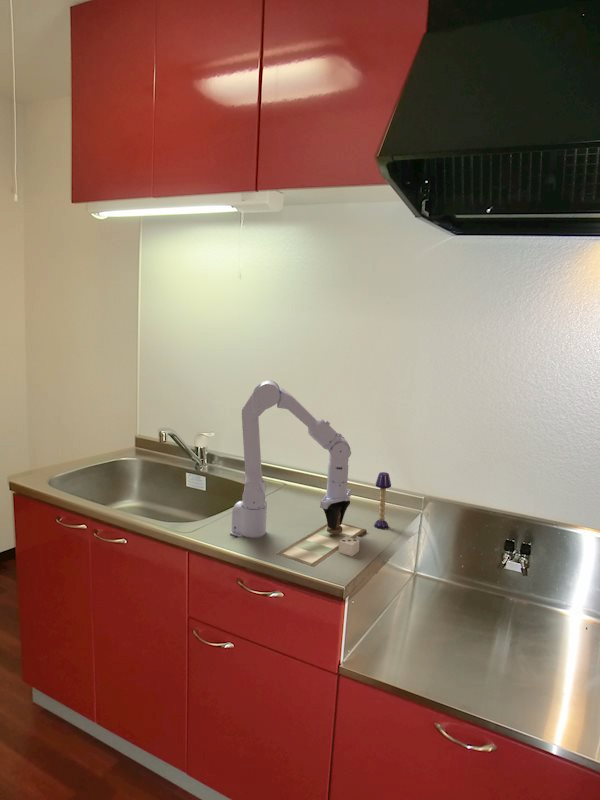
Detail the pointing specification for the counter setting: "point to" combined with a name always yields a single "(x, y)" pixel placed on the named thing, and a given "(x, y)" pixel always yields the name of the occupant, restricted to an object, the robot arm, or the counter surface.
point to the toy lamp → (382, 498)
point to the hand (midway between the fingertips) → (334, 526)
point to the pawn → (338, 527)
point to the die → (348, 546)
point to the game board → (319, 544)
